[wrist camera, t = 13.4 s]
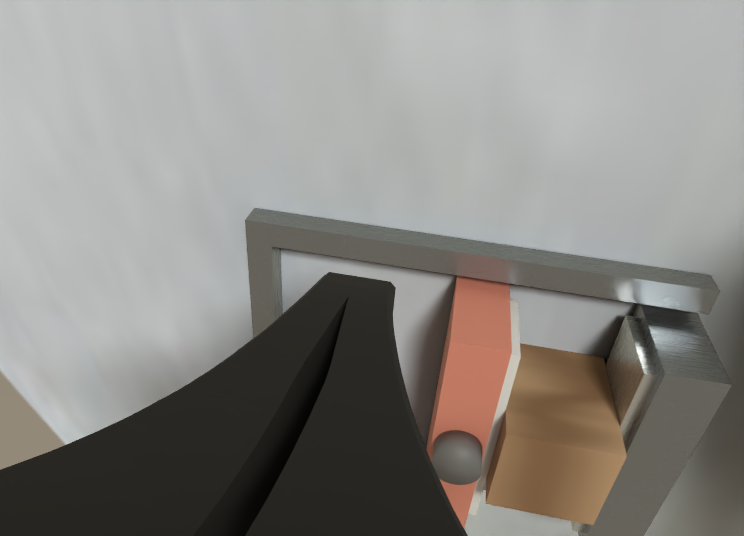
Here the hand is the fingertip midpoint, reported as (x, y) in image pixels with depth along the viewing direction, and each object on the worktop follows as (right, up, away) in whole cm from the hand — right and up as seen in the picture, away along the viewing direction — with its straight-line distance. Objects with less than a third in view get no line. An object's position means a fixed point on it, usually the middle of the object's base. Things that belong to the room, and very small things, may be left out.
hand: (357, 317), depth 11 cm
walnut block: (+8, -4, +13) cm, 16 cm away
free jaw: (+4, -3, +13) cm, 14 cm away
